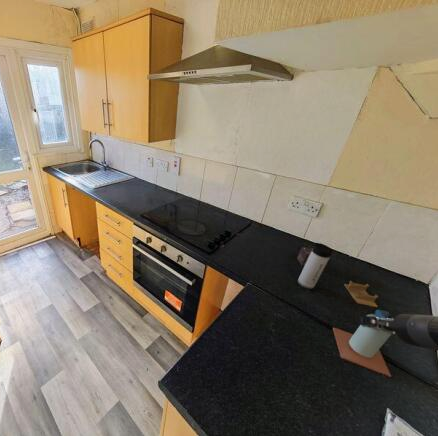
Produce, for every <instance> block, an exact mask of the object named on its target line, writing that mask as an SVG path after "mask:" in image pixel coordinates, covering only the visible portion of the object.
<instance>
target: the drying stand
mask: <svg viewBox="0 0 438 436" xmlns="http://www.w3.org/2000/svg"><path fill="white" fill-rule="evenodd" d="M343 285H344V287H345V288H346V290H347V291H348V292H349V294H350V295H351V297H352V298H353V300H354V301H355V302H356V303H357V304H360V305H364V306H368V307H372V308H373V307H374V308H378V307H379V306H378V305H377V303H376V302H375V301H377V299H378V298H379V295H377V294H374V295H371V294H369V293H368V292H367V289H368V288H369V287H370V284H368V283H366V284H360V283H356V282H353V281H352V280H349V284H348V283H344V284H343Z"/></svg>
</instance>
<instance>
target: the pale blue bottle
mask: <svg viewBox="0 0 438 436" xmlns="http://www.w3.org/2000/svg"><path fill="white" fill-rule="evenodd" d="M374 312H375V313H374V314H373V313H371V314H370V313H369V314H367V315H366V316H371V317H372V316H374V317H379V318H386V319H387V318H392V319H394V318H395V317H393V314H391V313H390V312H389V311H386V310H382V309H376V310H375V311H374ZM382 321H383V320H382ZM382 321H381V322H382ZM381 328H382V329H384V328H383V326H382V325H381ZM353 334H354V335H353V336H352V337H351V339H350V340H349V344H350V346H351V347H352V349H353V350H354V351H356V352H357V353H359V354H360V355H362V356H364V357H369V358H371V357H373V356H374V355H375V354H376V352H377V351H378V350H380V349H381V348H382V346H383V345H384V344H385V343H386V342H387V341H388V339H389V338H390V337H391V335H392V334H391V333H389V332H385V331H380V330H377V329H375V328H374V327H368V326H363V325H359V326H358V328H357V329H356V330H355V332H354V333H353Z"/></svg>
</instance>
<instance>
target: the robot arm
mask: <svg viewBox="0 0 438 436" xmlns="http://www.w3.org/2000/svg"><path fill="white" fill-rule="evenodd" d="M393 318H394V319H392V318H387V319H386V318H379V317H374V316H372V317H371V316H367V315H360V317H358V318H357V324H358V325H359V326H360V325H363V326H368V327H374V328H375V329H377V330H380V331H385V332H389V333H391V335H396V336H397V338H399V339H400V340H401V341H402V342H404V343H406V344H408V345H410V346H413V347H418V348H422V349H423V348H424V349H428V350H433V351H438V316H437V315H432V314H431V315H430V314H417V313H415V314H414V313H400V314H397V315H396V316H395V317H393ZM382 320H383V321H382ZM381 321H382V322H381ZM381 325H382V326H383V328H384V329H382V328H381Z"/></svg>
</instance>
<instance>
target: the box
mask: <svg viewBox="0 0 438 436" xmlns="http://www.w3.org/2000/svg"><path fill="white" fill-rule="evenodd" d="M312 250H313V248H312V247H302V246H301V248H300V251H299V253H298V255H297V256H296V257H297V258H296V259H297V261H298V262H299V263H300V265H301V266H302V267H304V266H305V264H306V262H307V260H308V258H309V256H310V254H311V252H312Z"/></svg>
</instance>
